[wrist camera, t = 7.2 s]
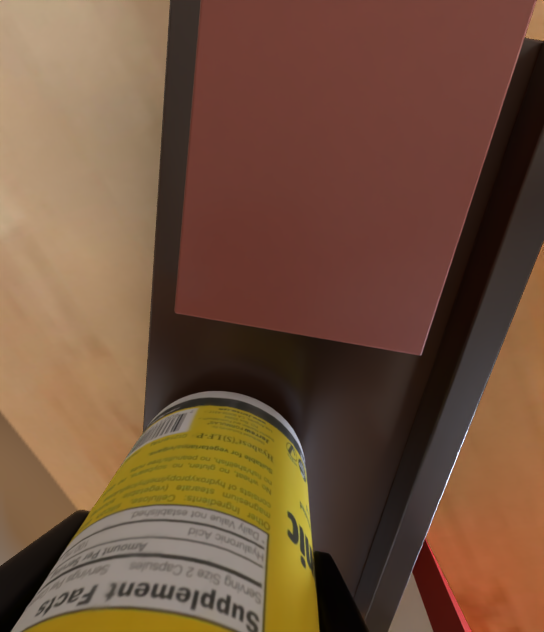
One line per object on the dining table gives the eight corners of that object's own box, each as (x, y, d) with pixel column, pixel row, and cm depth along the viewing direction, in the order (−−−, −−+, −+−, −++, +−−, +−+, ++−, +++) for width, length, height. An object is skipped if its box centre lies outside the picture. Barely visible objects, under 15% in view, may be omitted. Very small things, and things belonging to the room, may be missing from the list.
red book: (486, 39, 8) (542, -12, 6) (398, 333, 10) (422, 356, 8) (221, -9, 8) (203, -73, 6) (191, 296, 10) (171, 313, 8)
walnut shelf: (471, 111, 13) (634, 16, 7) (350, 513, 18) (380, 653, 12) (214, 65, 13) (150, -72, 7) (173, 483, 18) (118, 609, 12)
